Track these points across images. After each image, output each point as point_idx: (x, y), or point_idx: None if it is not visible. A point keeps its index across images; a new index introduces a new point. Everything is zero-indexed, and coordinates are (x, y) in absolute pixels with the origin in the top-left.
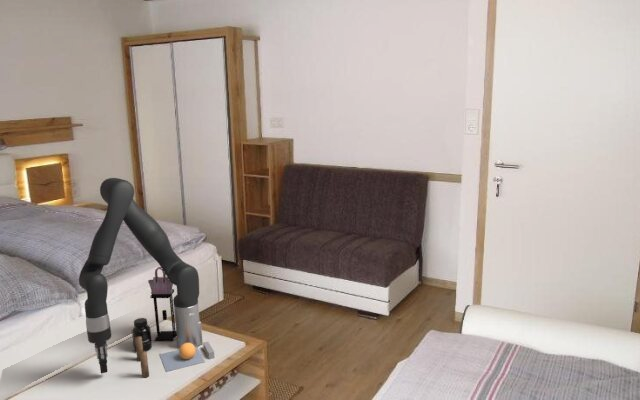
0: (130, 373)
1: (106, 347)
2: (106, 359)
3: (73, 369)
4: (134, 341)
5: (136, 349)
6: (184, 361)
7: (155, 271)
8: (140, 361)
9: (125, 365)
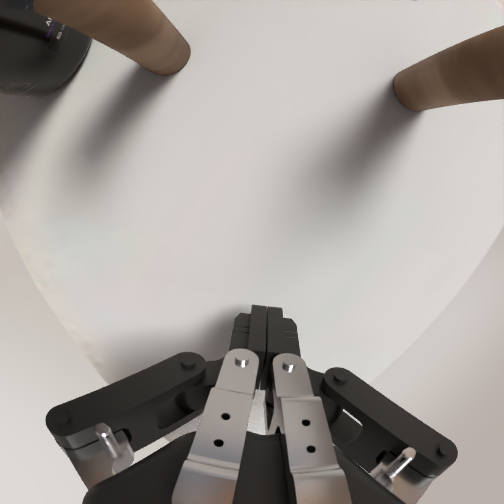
0: (322, 152)
1: (346, 498)
2: (407, 413)
3: (112, 380)
4: (14, 76)
5: (134, 44)
6: None
7: None
8: (487, 98)
9: (183, 156)
